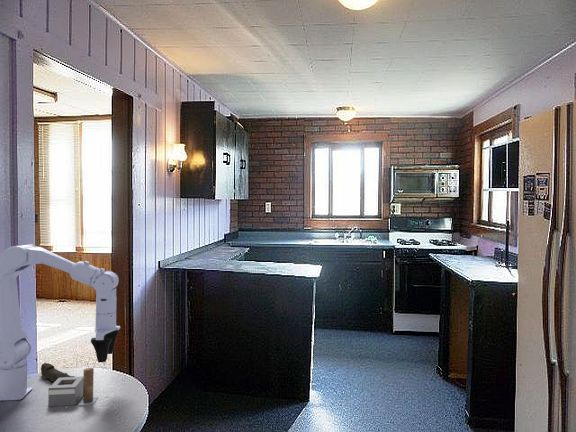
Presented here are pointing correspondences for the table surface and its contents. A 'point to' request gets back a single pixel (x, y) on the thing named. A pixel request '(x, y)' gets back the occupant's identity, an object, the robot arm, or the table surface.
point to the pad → (88, 403)
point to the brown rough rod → (52, 372)
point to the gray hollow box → (65, 391)
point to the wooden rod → (88, 385)
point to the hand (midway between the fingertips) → (105, 357)
